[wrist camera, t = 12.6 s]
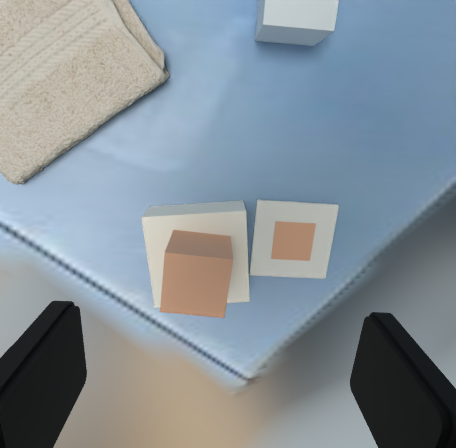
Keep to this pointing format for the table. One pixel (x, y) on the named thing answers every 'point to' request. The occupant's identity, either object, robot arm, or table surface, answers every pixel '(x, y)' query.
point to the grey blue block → (295, 21)
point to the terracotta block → (196, 274)
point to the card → (292, 238)
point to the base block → (203, 223)
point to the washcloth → (67, 75)
